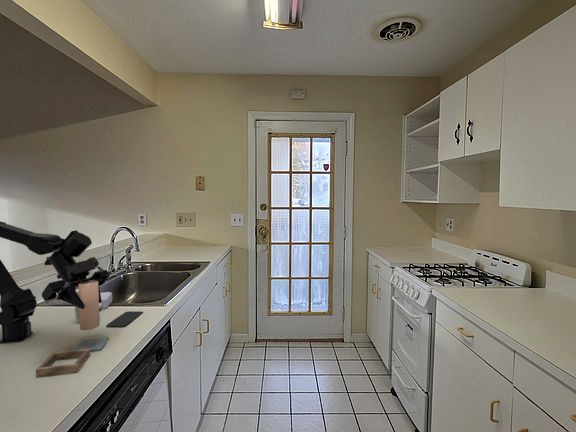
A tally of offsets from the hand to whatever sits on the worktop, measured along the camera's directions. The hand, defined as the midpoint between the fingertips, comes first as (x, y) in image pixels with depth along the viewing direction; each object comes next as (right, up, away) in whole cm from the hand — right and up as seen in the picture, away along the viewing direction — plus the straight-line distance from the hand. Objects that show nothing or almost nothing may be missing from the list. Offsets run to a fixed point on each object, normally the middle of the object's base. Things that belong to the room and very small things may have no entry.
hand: (92, 305), depth 98 cm
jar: (-1, -7, +1) cm, 7 cm away
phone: (-2, -13, +23) cm, 26 cm away
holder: (-2, -14, -10) cm, 17 cm away
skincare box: (-16, -12, +22) cm, 29 cm away
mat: (-1, -13, +2) cm, 13 cm away
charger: (-20, -12, +35) cm, 42 cm away
